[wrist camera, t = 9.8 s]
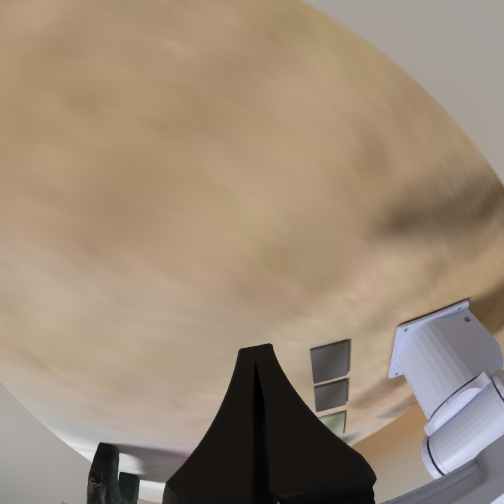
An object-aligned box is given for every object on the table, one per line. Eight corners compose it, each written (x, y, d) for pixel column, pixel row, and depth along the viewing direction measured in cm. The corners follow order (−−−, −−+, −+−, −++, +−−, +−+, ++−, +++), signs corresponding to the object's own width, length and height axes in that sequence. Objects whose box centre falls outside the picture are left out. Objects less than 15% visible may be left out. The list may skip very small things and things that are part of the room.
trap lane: (347, 339, 24) (354, 354, 22) (339, 455, 37) (342, 464, 35) (131, 376, 25) (126, 391, 23) (216, 475, 38) (216, 484, 36)
